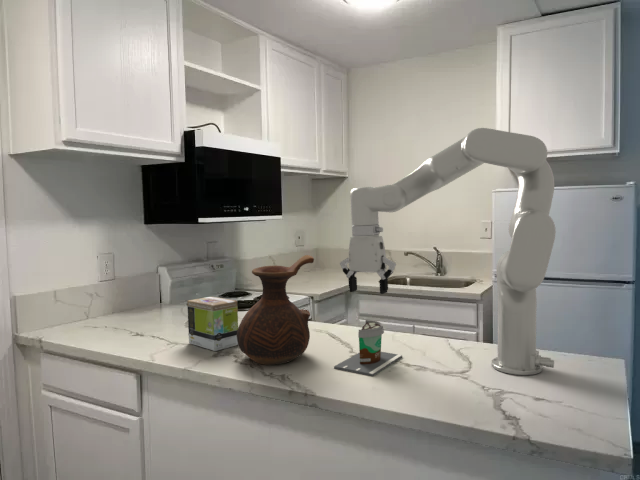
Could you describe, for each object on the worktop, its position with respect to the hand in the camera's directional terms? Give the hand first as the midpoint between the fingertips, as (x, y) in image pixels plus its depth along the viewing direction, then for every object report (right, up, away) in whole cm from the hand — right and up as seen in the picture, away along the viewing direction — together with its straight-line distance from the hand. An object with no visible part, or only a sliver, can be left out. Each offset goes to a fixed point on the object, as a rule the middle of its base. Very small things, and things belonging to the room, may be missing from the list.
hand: (368, 292), depth 136 cm
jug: (-27, -20, +7) cm, 34 cm away
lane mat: (0, -20, 0) cm, 20 cm away
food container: (+2, -19, +1) cm, 20 cm away
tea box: (-49, -20, +23) cm, 57 cm away
